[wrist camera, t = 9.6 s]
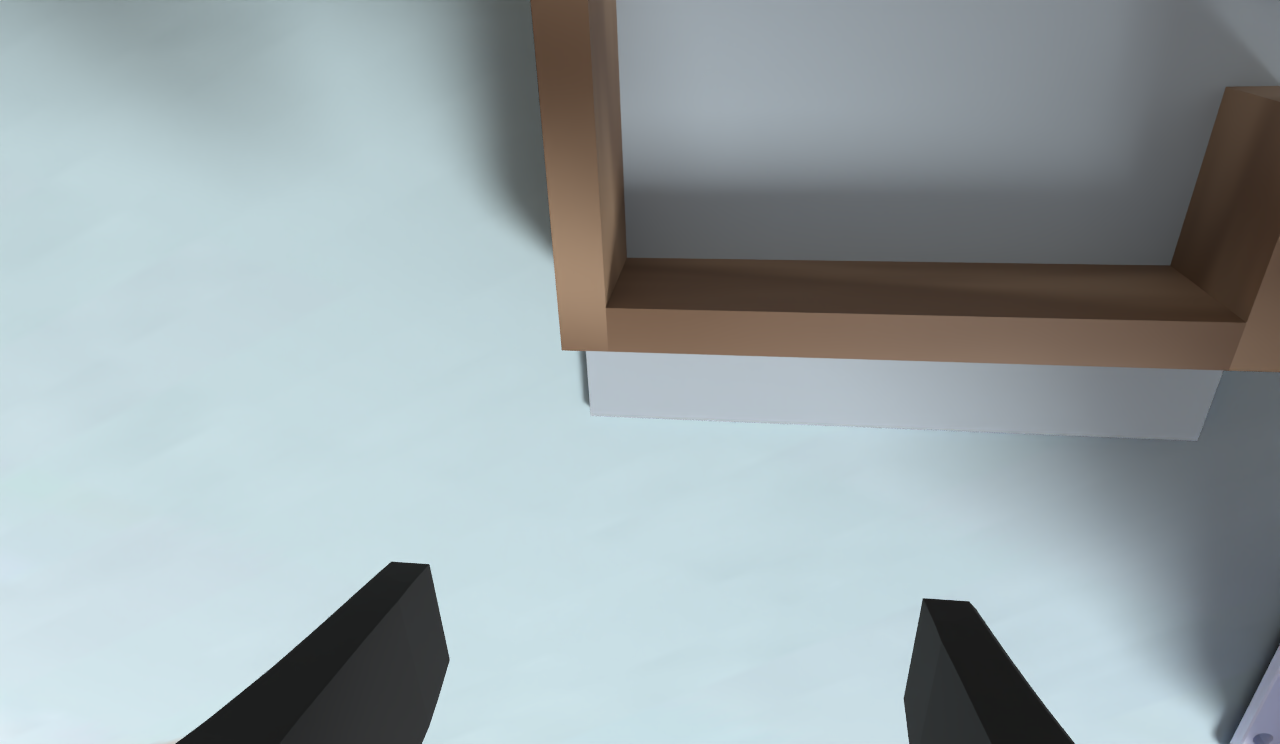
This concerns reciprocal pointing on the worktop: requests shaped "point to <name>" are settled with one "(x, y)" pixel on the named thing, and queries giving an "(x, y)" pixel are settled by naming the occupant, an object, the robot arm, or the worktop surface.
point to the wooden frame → (903, 291)
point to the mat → (921, 182)
